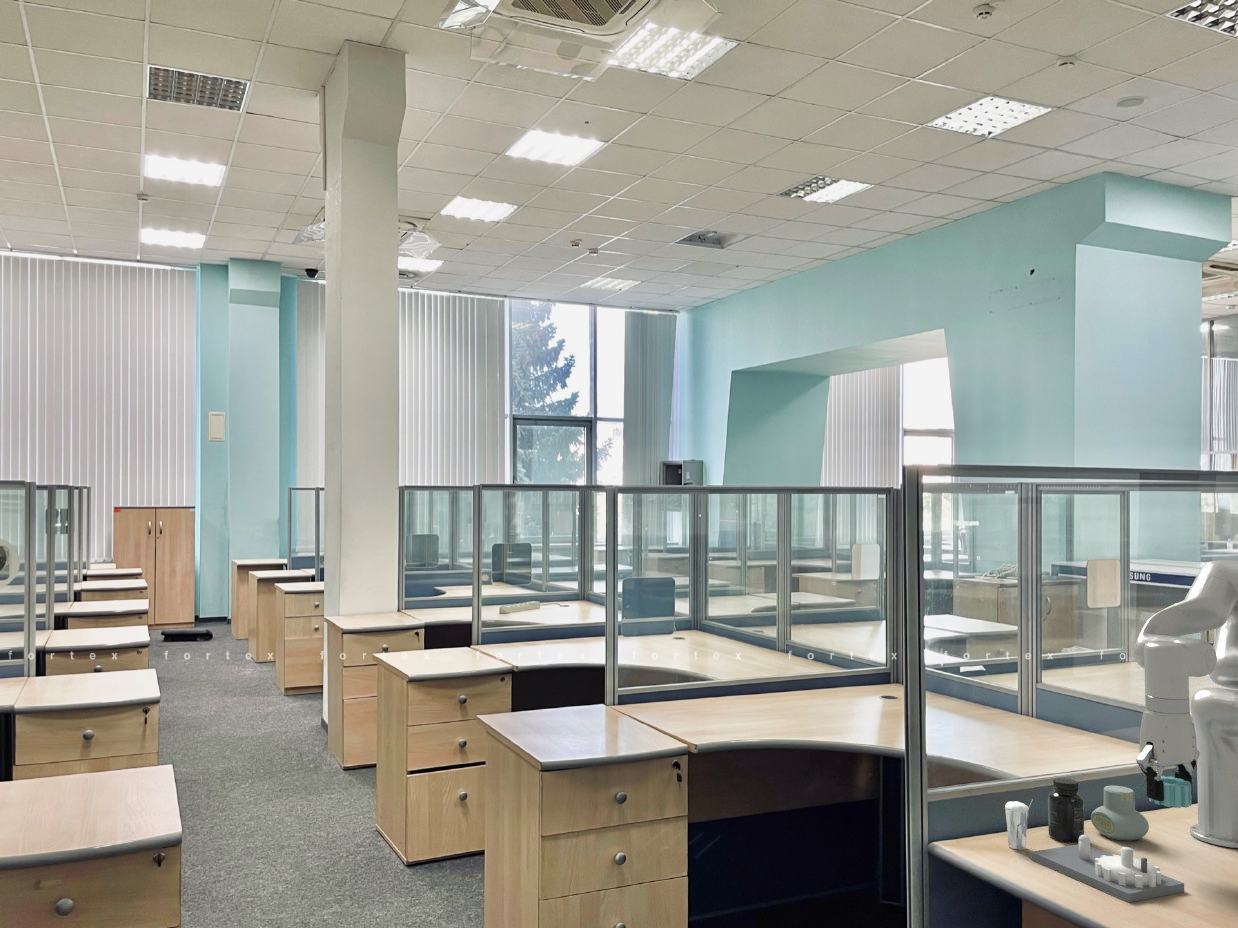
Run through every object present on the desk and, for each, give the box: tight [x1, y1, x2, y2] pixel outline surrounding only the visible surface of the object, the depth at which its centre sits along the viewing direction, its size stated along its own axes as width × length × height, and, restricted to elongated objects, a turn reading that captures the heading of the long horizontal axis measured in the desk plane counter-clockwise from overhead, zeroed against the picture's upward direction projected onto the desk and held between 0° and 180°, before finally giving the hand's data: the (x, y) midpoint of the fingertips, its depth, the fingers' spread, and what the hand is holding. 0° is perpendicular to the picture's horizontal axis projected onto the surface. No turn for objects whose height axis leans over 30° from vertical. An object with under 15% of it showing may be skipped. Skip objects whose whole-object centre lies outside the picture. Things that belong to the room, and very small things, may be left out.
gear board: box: [1030, 834, 1185, 903], centre depth 179 cm, size 14×22×6 cm, turn 22°
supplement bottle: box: [1047, 777, 1085, 844], centre depth 199 cm, size 7×7×12 cm
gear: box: [1148, 775, 1193, 809], centre depth 183 cm, size 7×7×4 cm
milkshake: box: [1004, 798, 1034, 851], centre depth 193 cm, size 4×5×10 cm
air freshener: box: [1090, 785, 1150, 842], centre depth 201 cm, size 11×8×10 cm
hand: (1169, 796), depth 183 cm, fingers closed on gear, 7 cm apart
